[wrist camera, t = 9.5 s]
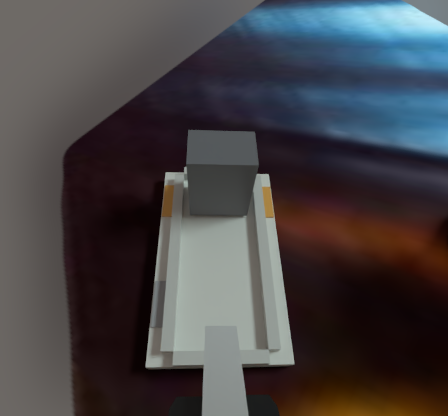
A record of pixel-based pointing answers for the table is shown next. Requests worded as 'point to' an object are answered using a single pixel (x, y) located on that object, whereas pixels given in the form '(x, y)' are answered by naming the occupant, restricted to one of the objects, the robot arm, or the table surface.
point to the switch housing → (217, 282)
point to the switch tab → (221, 172)
